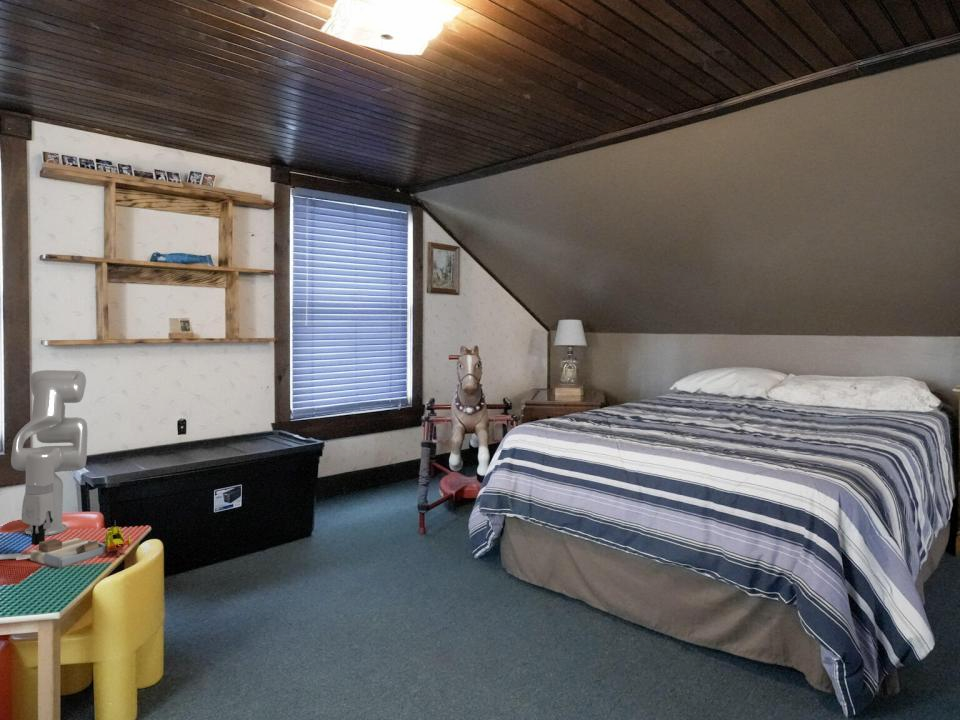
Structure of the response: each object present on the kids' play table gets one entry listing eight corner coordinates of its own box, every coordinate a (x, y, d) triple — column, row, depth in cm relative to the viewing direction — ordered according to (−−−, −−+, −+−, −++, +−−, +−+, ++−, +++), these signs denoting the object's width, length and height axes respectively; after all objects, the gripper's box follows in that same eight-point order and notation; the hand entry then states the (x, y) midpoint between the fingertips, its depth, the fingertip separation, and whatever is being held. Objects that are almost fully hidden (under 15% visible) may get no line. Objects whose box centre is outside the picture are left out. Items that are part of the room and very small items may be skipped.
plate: (30, 560, 197) (30, 550, 197) (76, 546, 211) (76, 537, 211) (44, 564, 194) (44, 554, 194) (90, 550, 208) (90, 541, 208)
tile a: (83, 544, 200) (85, 551, 200) (97, 540, 204) (99, 547, 204) (75, 548, 202) (77, 555, 201) (88, 544, 206) (91, 551, 205)
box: (44, 564, 194) (44, 553, 194) (90, 550, 208) (90, 540, 208) (59, 568, 191) (59, 557, 191) (104, 554, 205) (105, 543, 205)
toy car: (108, 559, 201) (109, 529, 200) (100, 543, 215) (100, 515, 214) (130, 556, 205) (131, 526, 205) (120, 540, 219) (121, 513, 218)
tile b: (38, 550, 198) (39, 542, 198) (53, 546, 202) (53, 538, 202) (47, 552, 196) (47, 544, 196) (61, 548, 200) (62, 540, 200)
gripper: (13, 488, 201) (11, 543, 201) (41, 494, 195) (40, 551, 195) (37, 483, 207) (35, 537, 208) (65, 490, 202) (64, 544, 202)
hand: (38, 543), depth 202 cm, fingers closed
